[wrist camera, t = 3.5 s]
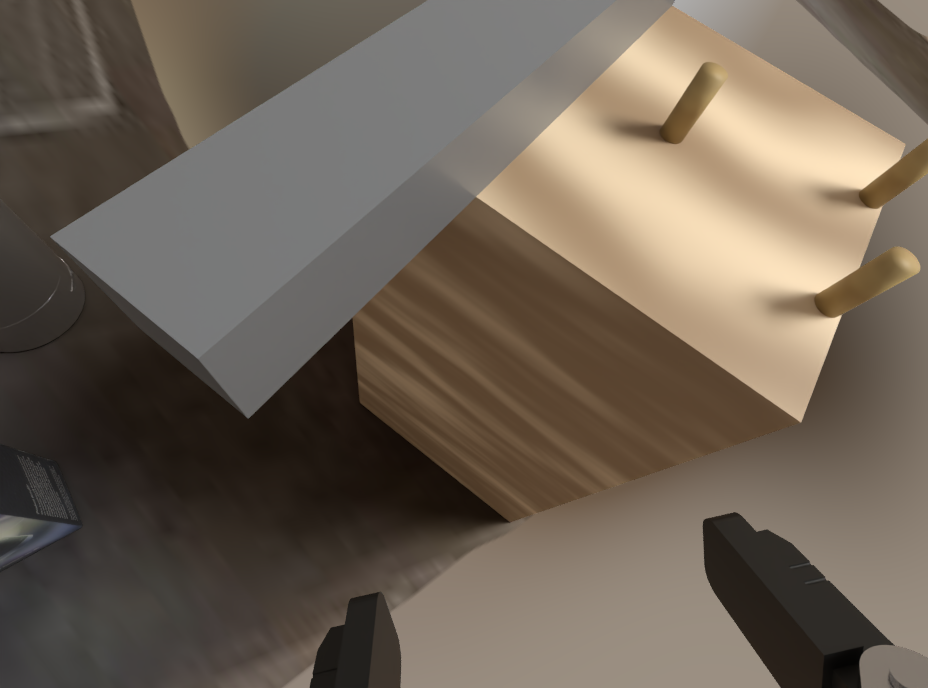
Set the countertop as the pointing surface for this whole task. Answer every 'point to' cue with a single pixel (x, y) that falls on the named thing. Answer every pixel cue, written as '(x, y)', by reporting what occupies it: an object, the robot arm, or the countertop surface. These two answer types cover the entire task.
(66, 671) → the countertop surface
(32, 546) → the small box
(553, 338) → the oak block
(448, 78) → the bar
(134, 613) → the countertop surface
